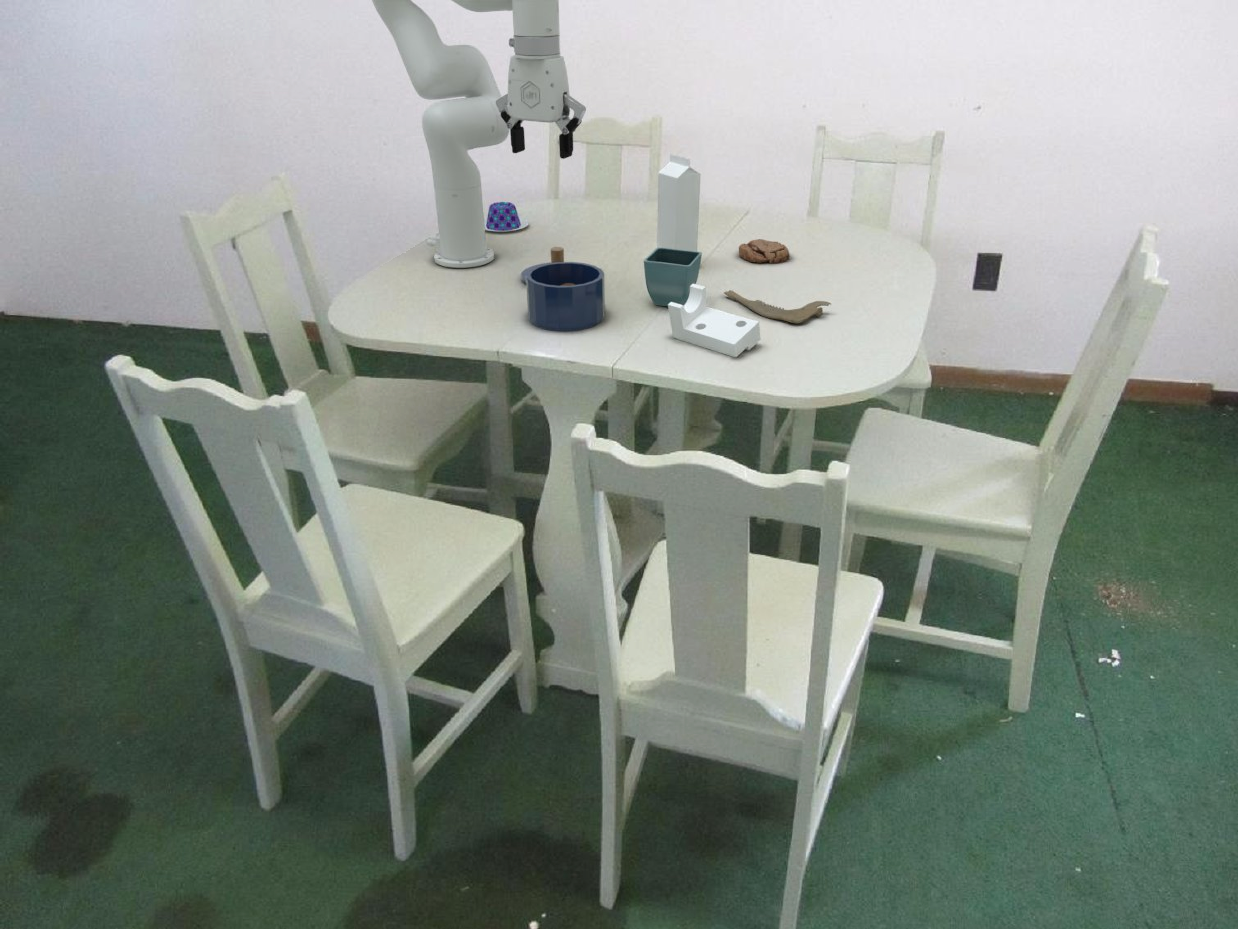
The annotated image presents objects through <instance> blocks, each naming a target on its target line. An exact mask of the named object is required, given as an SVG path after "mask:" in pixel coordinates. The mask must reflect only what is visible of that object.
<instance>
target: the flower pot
mask: <svg viewBox="0 0 1238 929" xmlns="http://www.w3.org/2000/svg"><path fill="white" fill-rule="evenodd" d="M702 256H703V252H702V251H697V252H696V251H687V250H678V249H669V248H657V247H656V248H655V249H654V250H653V251H652V252H651V253H650V254H648V256H647V257H646V258H644V260H643V268H644V269H643V270H644V280H645V286H646V289H647V293H648V295H649V297H650V299H651V301H652V302H653V305H656V306H662V307H668V304H669V303H670V302H674V303H677V304H681V305H685V304H686V302H687V300H688V298H689V294H690V286H691V285H692V284H697V283H698V282H697V281H698V278H699V274H700V268H701V262H702Z"/></svg>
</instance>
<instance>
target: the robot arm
mask: <svg viewBox="0 0 1238 929" xmlns="http://www.w3.org/2000/svg"><path fill="white" fill-rule="evenodd" d="M371 2H372V4H373V7H374V8H375V10H376V12H377V14H378V16H379V17H380V19H381V20H382V22H383V23H384V25H385V26H386V28H387V29H388V31H389V33H390V35H391V36H392V38H393V40H394V43H395V45H396V48H397V51H398V53H399V56H400V58H401V60H402V63H403V65H404V67H405V70H406V72H407V74H408V77H409V80H410V82H411V85H412V86H413V89H414V90H415V93H416V94H417V95H418V96H419V97H420V98H422V99H424V100H428V101H429V100H430V101H435V100H436V102H434V103H432V104H430V105H429V106H427V108H425V110H424V111H423V114H422V116H421V126H422V132H423V136H424V139H425V143H426V146H427V150H428V154H429V160H430V165H431V172H432V181H433V189H434V200H435V210H436V218H437V219H436V220H437V228H438V234H434V233H431V234H430V235H429V236H428V239H427V240H426V245H427V246H429V247H435V249H436V252H435V253H434V255H433V260H434V262H435V263H436V264H437V265H439V266H442V267H444V268H445V267H446V268H453V269H454V268H455V269H465V268H466V269H467V268H476V267H481V266H483V265H484V266H485V265H488V264H489V263H492V261H493V260H494V259H495V252H494V250H493V249H491V248H490V247H488V246H487V241H486V230H485V226H484V220H485V215H484V213H485V212H484V202H483V189H482V178H481V177H482V176H481V173H480V170H479V166H478V165H477V163H476V162H475V161H474V160H473V158H472V157H471V155H470V154H469V151H471V150H474V149H480V148H487V147H492V146H497V145H500V144H502V143H503V142H505V141H506V140H507V138H508V137H509V136H510V146H511V151H512V153H513V154H518V153H521V152H524V151H525V150H526V141H525V128H524V126H522V124H523V123H524V121H526V122H537V123H550V124H551V123H555V124H556V126H557V127H558V129H559V130H560V131H561V133H560V134H559V136H558V141H559V142H558V146H559V158H560V159H561V160H564V159H568V158H570V157H572V156H573V152H574V133H575V132H576V130H577V128H578V127H579V126H580V125H581V124H582V122H583V121H582V120H583V119H584V116H585V114H586V111H587V108H586V106H585V105H583V103H581V102H580V101H578V100H577V99H575V98H574V97H573V96H571V94H570V86H569V77H568V71H567V66H566V61H565V58H564V56H562V55H561V32H560V3H559V2H560V0H451V2H453V3H455V4H457V5H458V6H459V7H461V8H463V9H465V10H466V11H467V10H468V11H471V12H474V13H491V12H503V11H505V12H506V11H507V12H512V26H513V37H510V38H509V40H508V45H509V47H510V48H513V51H514V55H511V56H510V59H509V65H508V72H507V73H508V75H507V93H506V94H504V95H503V96H502V94H501V92H500V89H499V87H498V84H497V82H496V78H495V76H494V74H493V72H492V69H491V66H490V65H489V62H488V60H487V58H486V56H485V55H484V54H483V53H482V51H481V50H480V49H479V48H477V47H476V46H474V45H470V44H453V45H447V44H445V43H444V42H443V41H442V39H441V37H440V34H439V32H438V29H437V26H436V24H435V22H434V21H433V20H432V19H431V17H430V16H429V15H428V13H426V12H425V11H424V10H423V9H422V8H421V7H420V6H418V5H417V4H416V3H414V1H412V0H371ZM437 100H440V101H437ZM571 110H572V111H573V116H572V118H570V113H571ZM509 134H510V135H509Z"/></svg>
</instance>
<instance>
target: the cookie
mask: <svg viewBox="0 0 1238 929" xmlns="http://www.w3.org/2000/svg"><path fill="white" fill-rule="evenodd" d="M738 255H739V257H740V258H742V259H744V260H745V261H748V262H750V263H758V264H759V263H760V264H762V263H769V264H780V263H782V262H786V261H788V260H789V258H790V251H789V248H788V247H787V245H785V244H783V243H781V242H778V241H774V240H773V241H772V240H766V239H762V238H759V239H757V238H756V239H752V240H749V242H747V243H742V244H740V245H739V246H738Z"/></svg>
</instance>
